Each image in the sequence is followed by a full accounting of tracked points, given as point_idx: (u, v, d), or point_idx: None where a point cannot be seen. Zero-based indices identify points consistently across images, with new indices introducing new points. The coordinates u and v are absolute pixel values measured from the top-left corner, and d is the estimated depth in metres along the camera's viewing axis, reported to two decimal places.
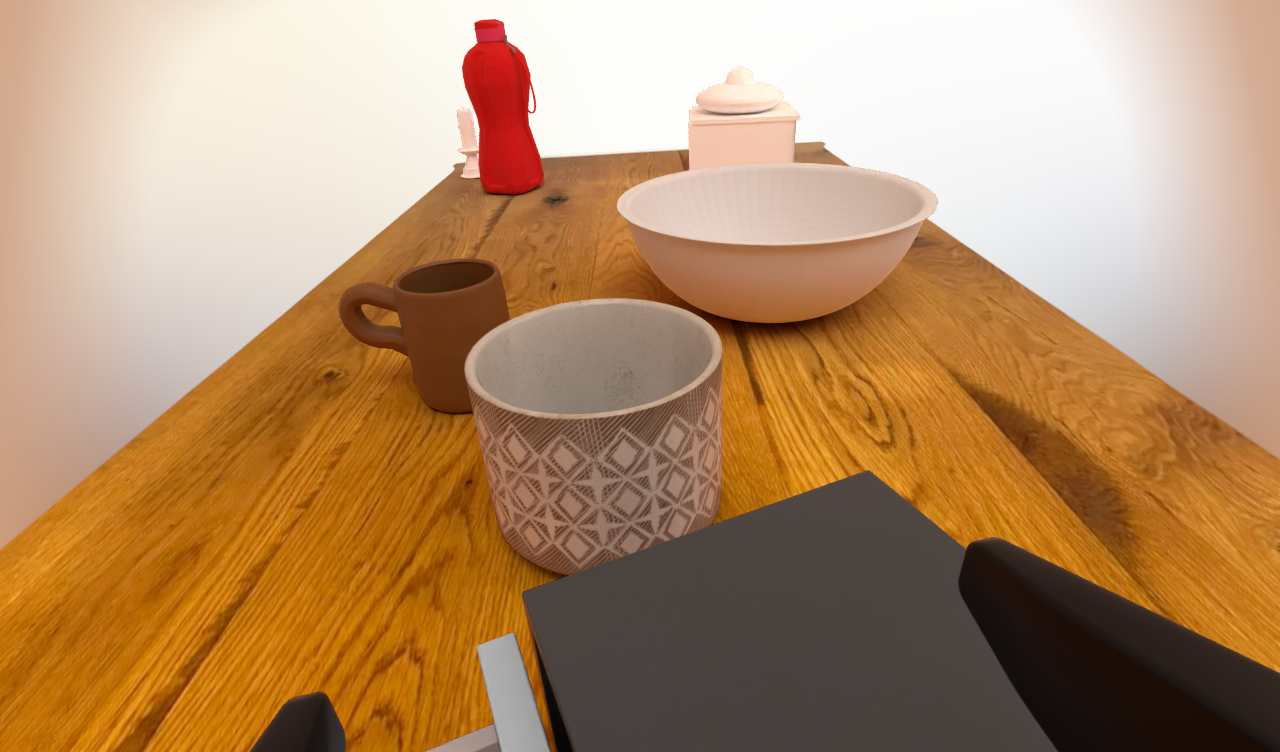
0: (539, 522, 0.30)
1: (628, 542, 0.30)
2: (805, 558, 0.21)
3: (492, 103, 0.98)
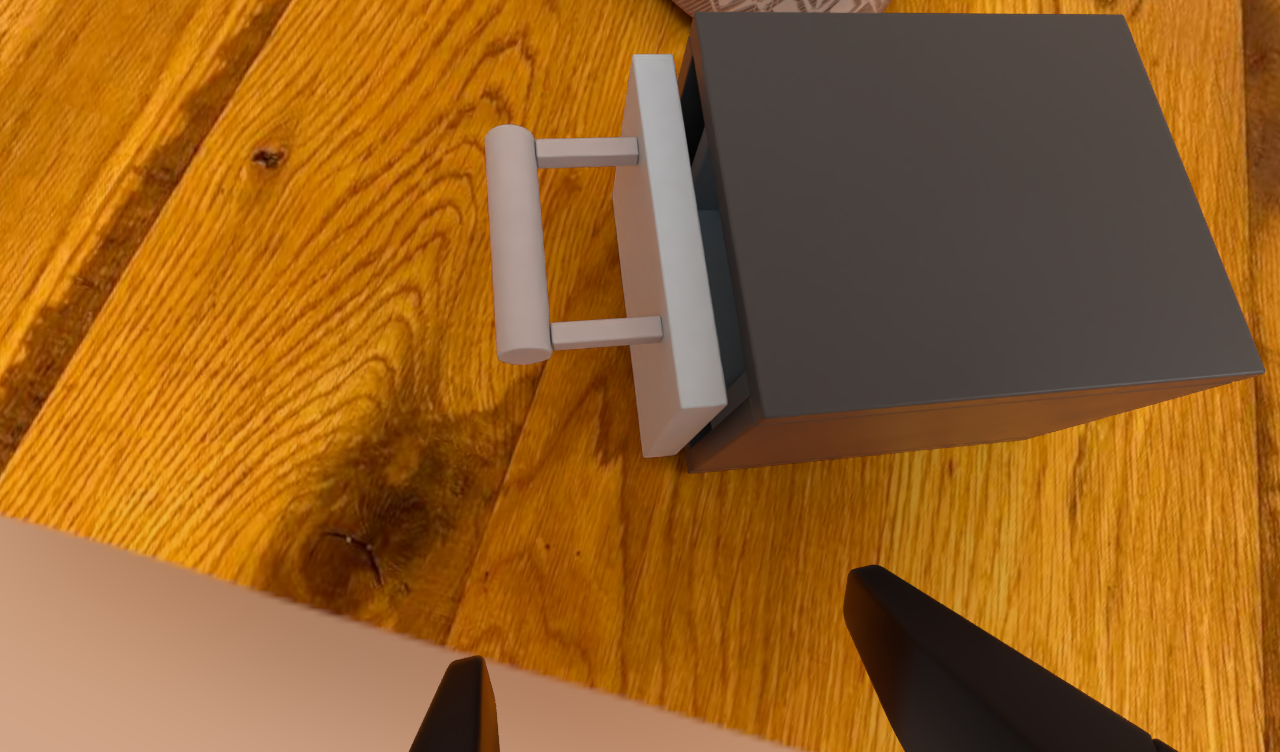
0: None
1: (783, 7, 0.26)
2: (1005, 89, 0.18)
3: None
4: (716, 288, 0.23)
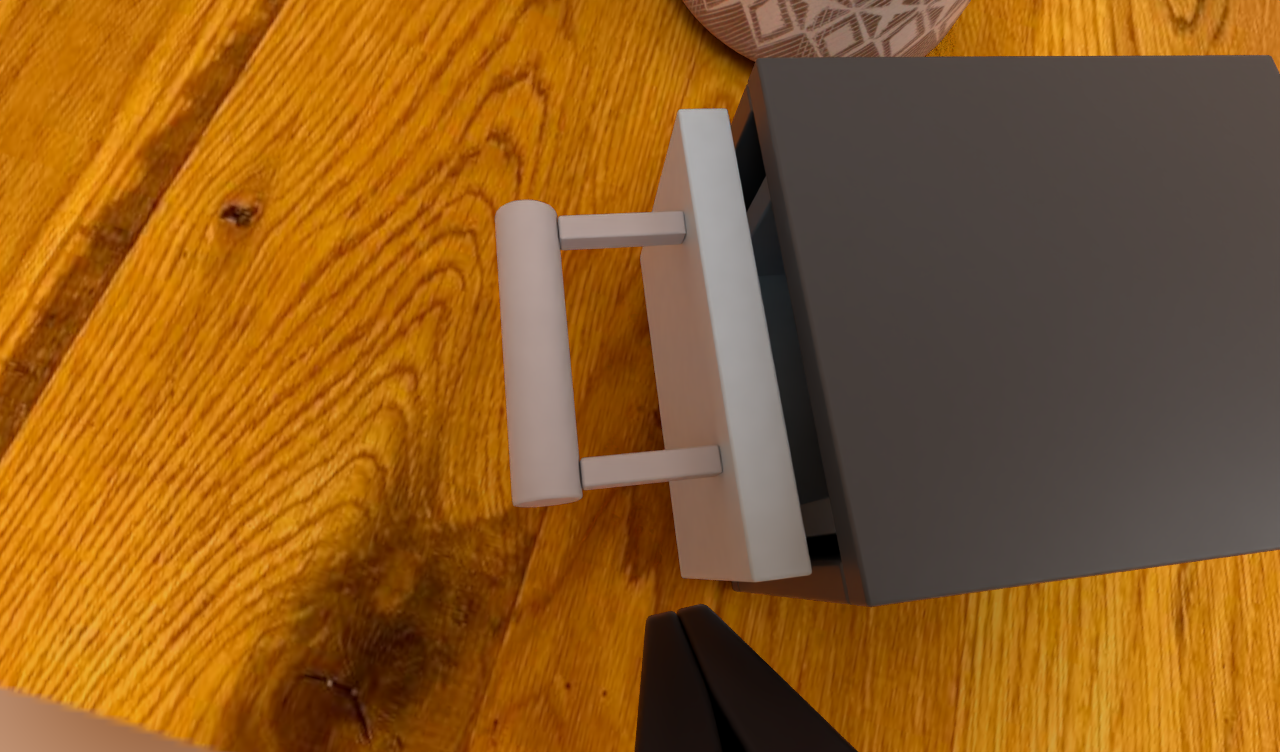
0: None
1: (836, 37, 0.22)
2: (1140, 152, 0.15)
3: None
4: None
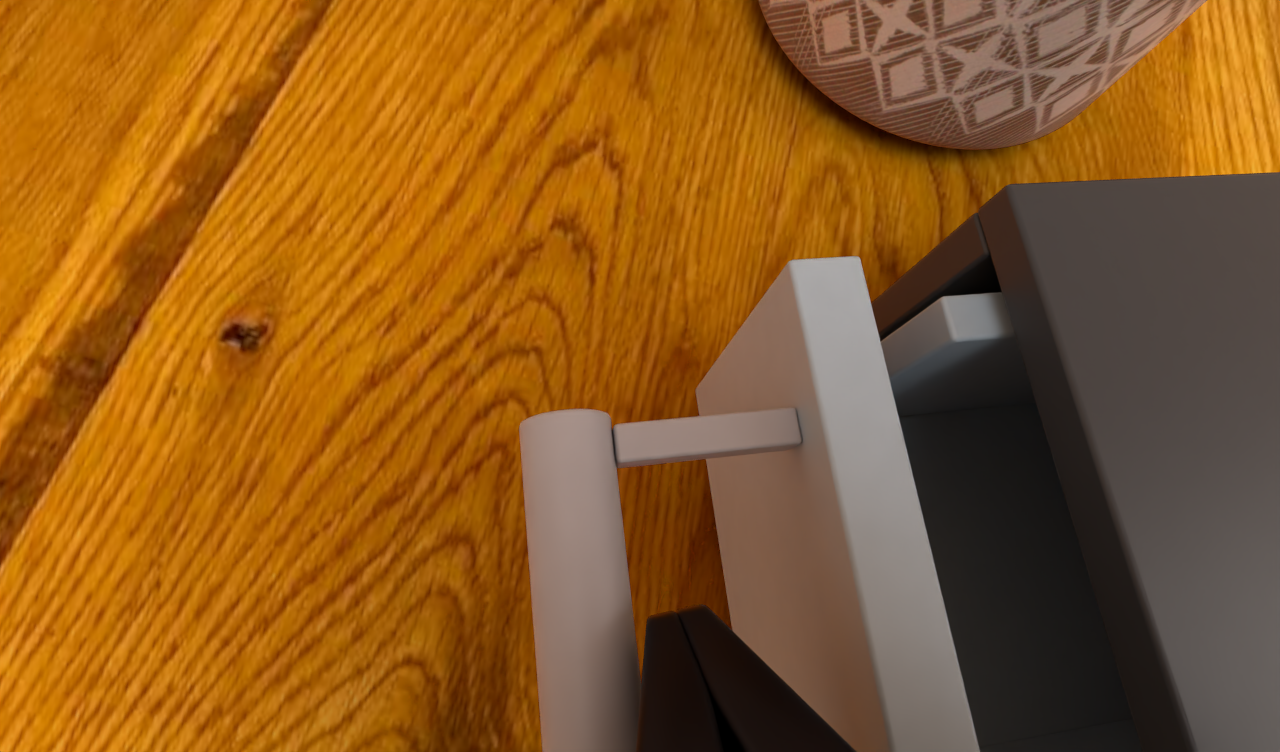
0: (871, 12, 0.17)
1: (991, 102, 0.18)
2: None
3: None
4: None
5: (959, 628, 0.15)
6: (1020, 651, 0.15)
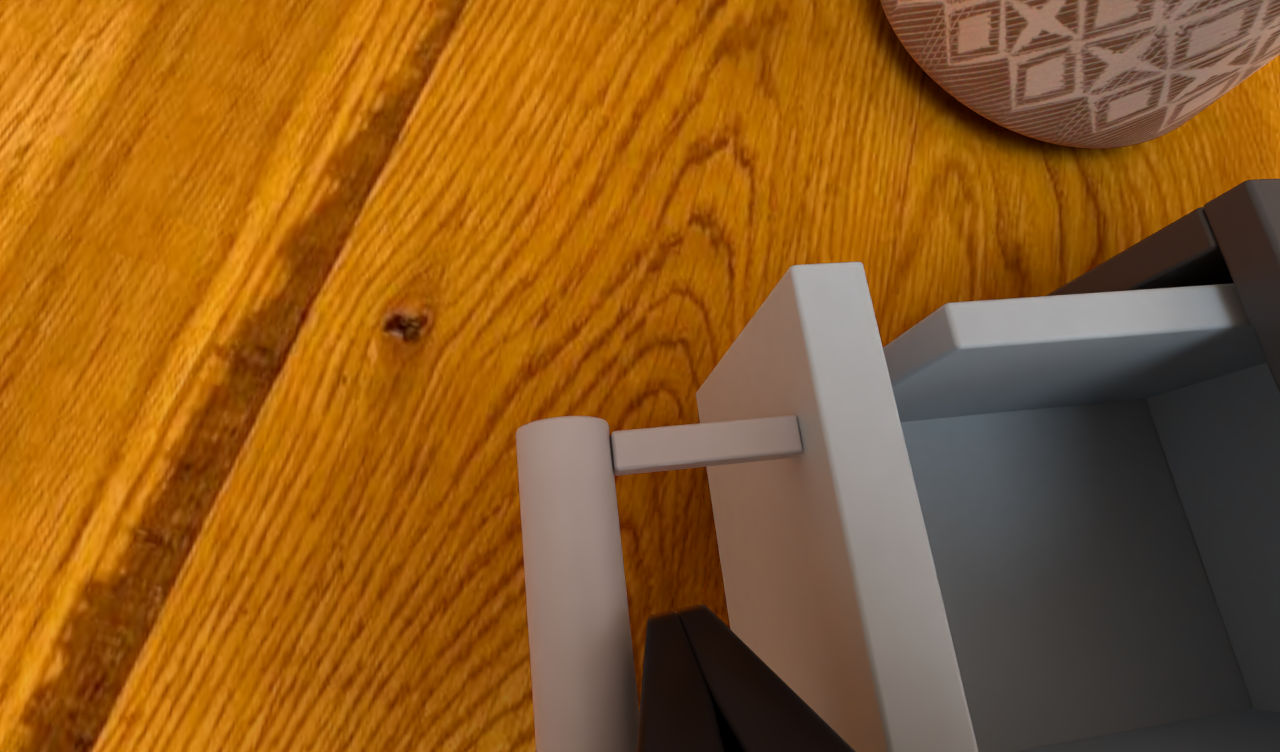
0: (1017, 14, 0.17)
1: (1126, 101, 0.18)
2: None
3: None
4: None
5: (961, 637, 0.15)
6: (1023, 660, 0.15)
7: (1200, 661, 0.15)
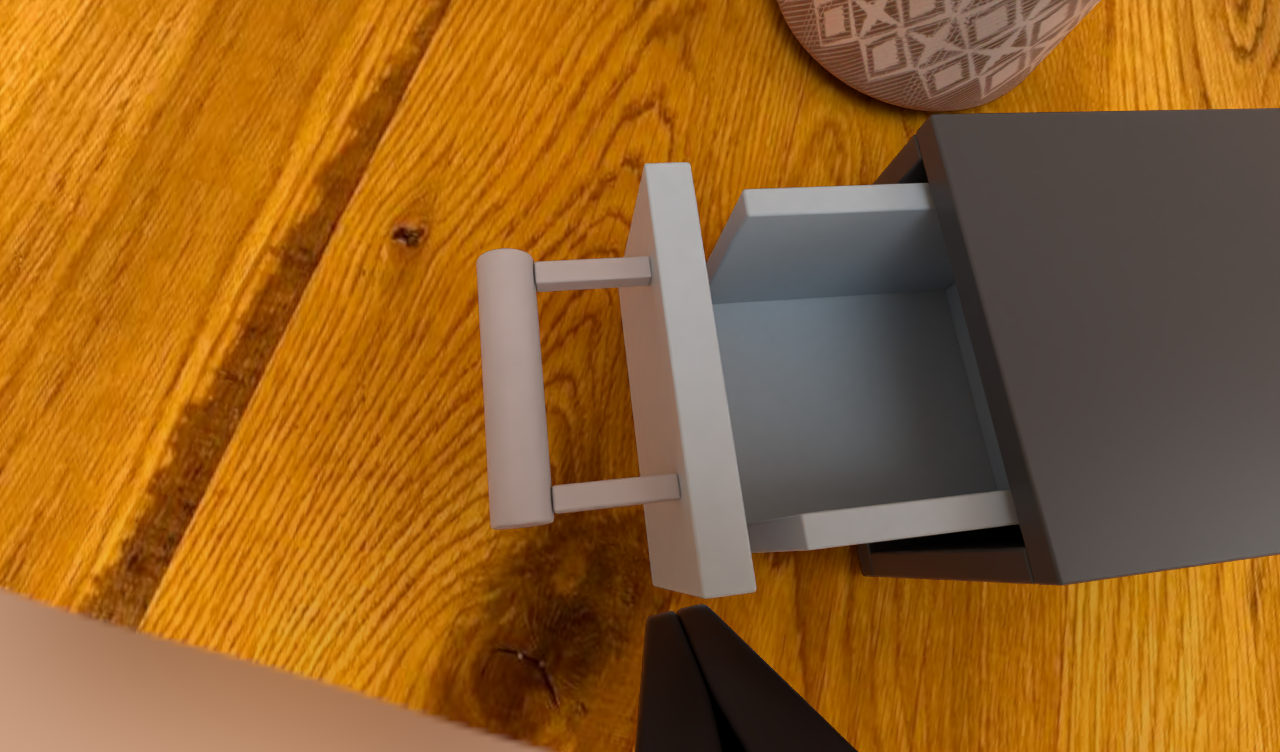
0: (859, 7, 0.24)
1: (946, 73, 0.25)
2: (1257, 195, 0.17)
3: None
4: (732, 393, 0.21)
5: (794, 444, 0.21)
6: (836, 460, 0.21)
7: (964, 465, 0.21)
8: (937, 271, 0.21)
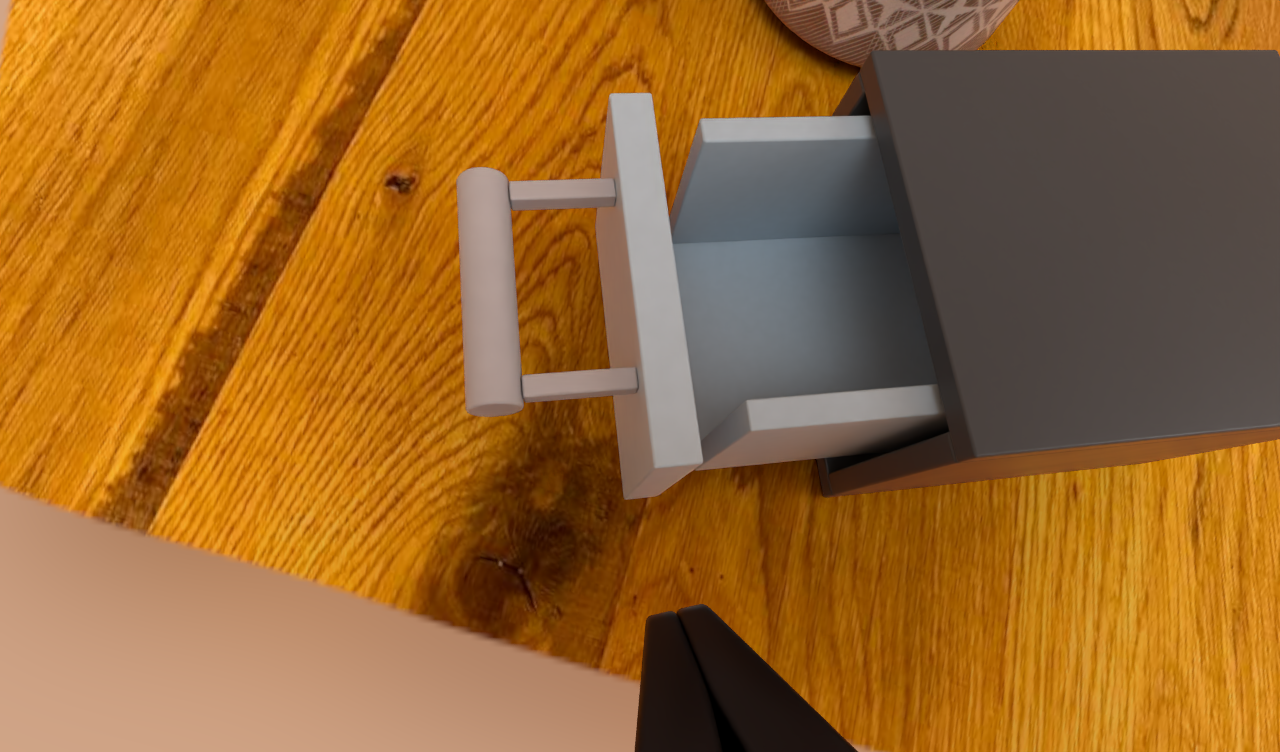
0: None
1: (904, 33, 0.26)
2: (1172, 126, 0.19)
3: None
4: (700, 324, 0.23)
5: (757, 370, 0.23)
6: (796, 385, 0.23)
7: None
8: (891, 211, 0.23)
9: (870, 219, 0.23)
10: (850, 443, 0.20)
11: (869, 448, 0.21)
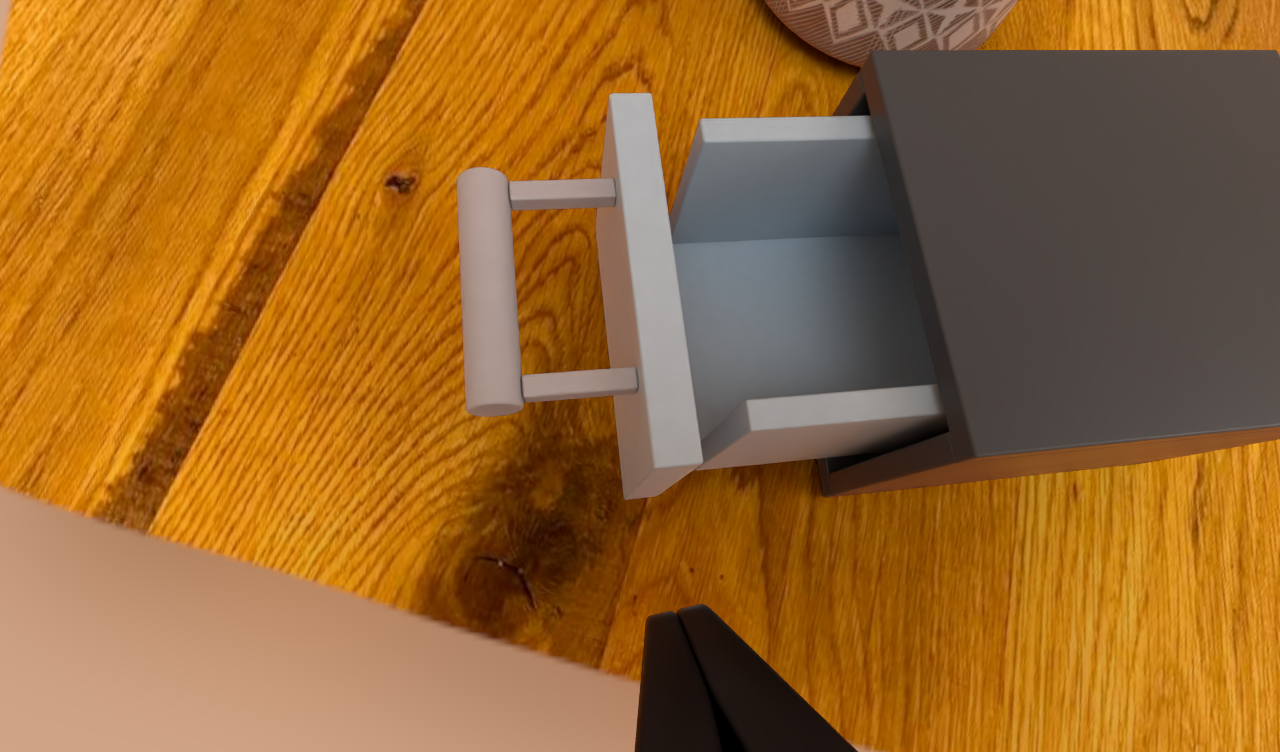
0: None
1: (904, 34, 0.26)
2: (1172, 126, 0.19)
3: None
4: (700, 324, 0.23)
5: (757, 370, 0.23)
6: (796, 385, 0.23)
7: None
8: (891, 211, 0.23)
9: (870, 219, 0.23)
10: (850, 443, 0.20)
11: (869, 448, 0.21)
